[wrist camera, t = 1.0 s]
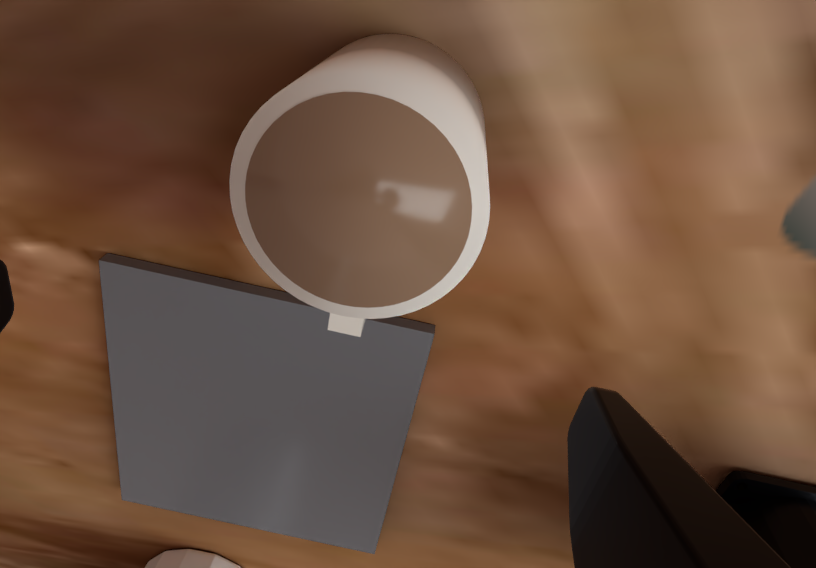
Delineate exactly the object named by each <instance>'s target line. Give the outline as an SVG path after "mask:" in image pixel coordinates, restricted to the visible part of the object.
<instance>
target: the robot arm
mask: <svg viewBox="0 0 816 568" xmlns="http://www.w3.org/2000/svg"><path fill="white" fill-rule="evenodd" d="M13 311H14V301H13V296H12V291H11V286H10V281H9V276H8V271H7V267H6V265H5V264H4V262H3V261H2V260H0V333H1V331H2V330H3V329H4V327H5V326H6V325H7V323H8V322H9V321H10V319H11V317H12V315H13ZM568 479H569V518H570V535H571V543H572V551H573V558H574V566H575V568H816V487H813V486H808V485H804V484H799V483H794V482H790V481H785V480H781V479H776V478H772V477H767V476H762V475H758V474H753V473H749V472H744V471H736V472H733V473H731V474H729V475H728V476H727V477H726V478H725V480H724V481H723V482H722V484H721V485H720V487H719V488H718V489H717V491H715V490H714V489H713V488H712V487H711V486H710V485H709V484H708V483H707V482H706V481H705V480H704V479H703V478H702V477H701V476H700V475H699V474H698V473H697V472H696V471H695V470H694V469H693V468H692V467H691V466H690V465H689V464H688V463H687V462H686V461H685V460H684V459H683V458H682V457H681V456H680V455H679V454H678V453H677V452H676V451H675V450H674V449H673V448H672V447H671V446H670V445H669V444H668V443H667V442H666V441H665V440H664V439H663V438H662V437H661V436H660V435H659V434H658V433H657V432H656V431H655V430H654V429H653V427H652V426H651V425H650V424H649V423H648V422H647V421H646V420H645V419H644V418H643V417H642V416H641V415H640V414H639V413H638V412H637V411H636V410H635V409H634V408H633V407H632V406H631V405H630V404H629V403H628V402H627V401H626V400H625V399H624V398H623V397H622V396H621V395H620V394H619V393H617V392H615V391H612V390H607V389H603V388H598V387H591V388H589V389H588V390H587V391H586V392H585V394H584V396H583V398H582V400H581V403H580V405H579V407H578V409H577V411H576V413H575V415H574V418H573V420H572V422H571V424H570V427H569V431H568Z"/></svg>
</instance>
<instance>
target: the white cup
mask: <svg viewBox="0 0 816 568" xmlns="http://www.w3.org/2000/svg"><path fill="white" fill-rule="evenodd" d="M145 568H241V567H240V566H239V565H237V564H235V563H233V562H231V561H229V560H228V559H225V558H223V557H221V556H219V555H217V554H213V553H208V552H204V551H199V550H193V549H179V550H170V551H164V552H163V553H161V554H159V555H158V556H156V557H154V558H153V559H151V560H149V561H148V563H147V564H146V566H145Z"/></svg>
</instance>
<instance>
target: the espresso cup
mask: <svg viewBox="0 0 816 568" xmlns="http://www.w3.org/2000/svg"><path fill="white" fill-rule="evenodd" d="M229 183H230V200H231V206H232V212H233V215H234V219H235V222H236V225H237V228H238V230H239V233H240V235H241V237H242V239H243V242H244V243H245V245H246V247H247V249H248V250H249V252H250V254H251V255H252V257H253V258H254V259H255V261H256V262H257V263H258V265H259V266H260V267H261V268H262V269H263V271H264V272H265V273H266V274H267V275H268V276H269V277H270V278H271V279H272V280H273V281H274V282H276V283H277V284H278V285H279V286H280V287H282V288H283V289H284V290H285V291H287V292H288V293H290V294H291V295H293V296H294V297H296V298H297V299H299V300H301V301H303V302H305V303H307V304H309V305H311V306H313V307H316V308H318V309H321V310H323V311H326V312H329V313H330V317H329V323H328V330H330V331H335V332H339V333H344V334H348V335H353V336H358V337H361V333H362V330H363V326H364V323H365V320H366V319H378V318H389V317H395V316H401V315H404V314H407V313H411V312H414V311H417V310H419V309H421V308H424V307H426V306H428V305H430V304H432V303H433V302H435V301H437V300H438V299H440V298H442V297H443V296H444V295H446V294H447V293H448V292H449V291H451V290H452V289H453V288H454V287H455V286H456V285H457V284H458V283H459V282H460V281H461V280H462V279H463V278H464V277H465V275H466V274H467V273H468V271H469V270H470V269H471V267H472V266H473V264H474V262H475V261H476V259H477V257H478V255H479V253H480V251H481V248H482V246H483V243H484V240H485V238H486V233H487V229H488V224H489V215H490V196H489V181H488V166H487V152H486V137H485V122H484V114H483V109H482V104H481V101H480V98H479V96H478V93H477V91H476V89H475V87H474V85H473V83H472V81H471V79H470V78H469V76H468V75H467V73H466V72H465V70H464V69H463V68H462V67H461V66H460V65H459V64H458V63H457V62H456V60H454V59H453V58H452V57H451V56H450V55H448V54H447V53H446V52H445V51H443V50H442V49H440V48H438V47H437V46H435V45H433V44H431V43H429V42H427V41H425V40H422V39H419V38H416V37H412V36H408V35H401V34H379V35H372V36H368V37H365V38H361V39H359V40H356V41H354V42H352V43H350V44H348V45H346V46H345V47H343V48H341V49H340V50H338V51H337V52H335V53H334V54H332V55H331V56H330V57H328V58H327V59H325V60H324V61H322V62H321V63H320V64H318V65H317V66H315V67H314V68H312V69H311V70H310V71H308V72H307V73H305V74H304V75H302V76H301V77H300V78H298V79H297V80H295V81H294V82H292V83H291V84H289V85H288V86H287V87H285V88H284V89H282V90H281V91H279V92H278V93H277V94H275V95H274V96H273V97H271V98H270V99H269V100H268V101H267V102H266V103H265V104H263V105H262V106H261V107H260V108H259V110H258V111H257V112H256V113H255V114H254V116H253V117H252V118H251V119H250V121H249V122H248V124H247V125H246V127H245V129H244V130H243V132H242V134H241V136H240V138H239V141H238V143H237V146H236V148H235V151H234V155H233V159H232V163H231V170H230V180H229Z"/></svg>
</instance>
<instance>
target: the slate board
mask: <svg viewBox="0 0 816 568" xmlns="http://www.w3.org/2000/svg"><path fill="white" fill-rule="evenodd" d="M99 268H100V278H101V289H102V299H103V309H104V320H105V330H106V340H107V351H108V361H109V372H110V382H111V392H112V403H113V413H114V423H115V434H116V444H117V454H118V465H119V475H120V486H121V496H122V500H125V501H130V502H134V503H139V504H143V505H148V506H153V507H157V508H162V509H167V510H171V511H176V512H181V513H185V514H190V515H195V516H199V517H204V518H209V519H213V520H218V521H223V522H227V523H232V524H237V525H241V526H246V527H251V528H255V529H260V530H264V531H269V532H274V533H278V534H283V535H288V536H292V537H297V538H302V539H306V540H311V541H316V542H320V543H325V544H330V545H334V546H339V547H344V548H348V549H353V550H358V551H362V552H367V553H372V554H375V550H376V546H377V543H378V539H379V535H380V532H381V528H382V524H383V521H384V517H385V513H386V510H387V506H388V502H389V499H390V495H391V491H392V488H393V484H394V480H395V477H396V473H397V469H398V466H399V462H400V458H401V455H402V451H403V447H404V444H405V440H406V436H407V433H408V429H409V425H410V422H411V418H412V414H413V411H414V407H415V403H416V400H417V396H418V392H419V389H420V385H421V381H422V378H423V374H424V370H425V367H426V363H427V359H428V356H429V352H430V348H431V345H432V341H433V337H434V333H435V325H432V324H427V323H423V322H418V321H413V320H409V319H404V318H400V317H389V318H378V319H366V320H365V323H364V326H363V330H362V333H361V337H358V336H353V335H348V334H344V333H339V332H335V331H330V330H328V323H329V317H330V313H329V312H326V311H323V310H321V309H318V308H316V307H313V306H311V305H309V304H307V303H305V302H303V301H301V300H299V299H297V298H296V297H294V296H293V295H291V294H290V293H287V292H282V291H278V290H273V289H269V288H264V287H259V286H255V285H250V284H246V283H241V282H237V281H232V280H228V279H223V278H219V277H214V276H210V275H205V274H201V273H196V272H192V271H187V270H182V269H178V268H173V267H169V266H164V265H160V264H155V263H151V262H146V261H142V260H137V259H133V258H128V257H124V256H119V255H115V254H110V253H107V254H106V255H104V256H103V257H102V258H101V259H100V260H99Z"/></svg>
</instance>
